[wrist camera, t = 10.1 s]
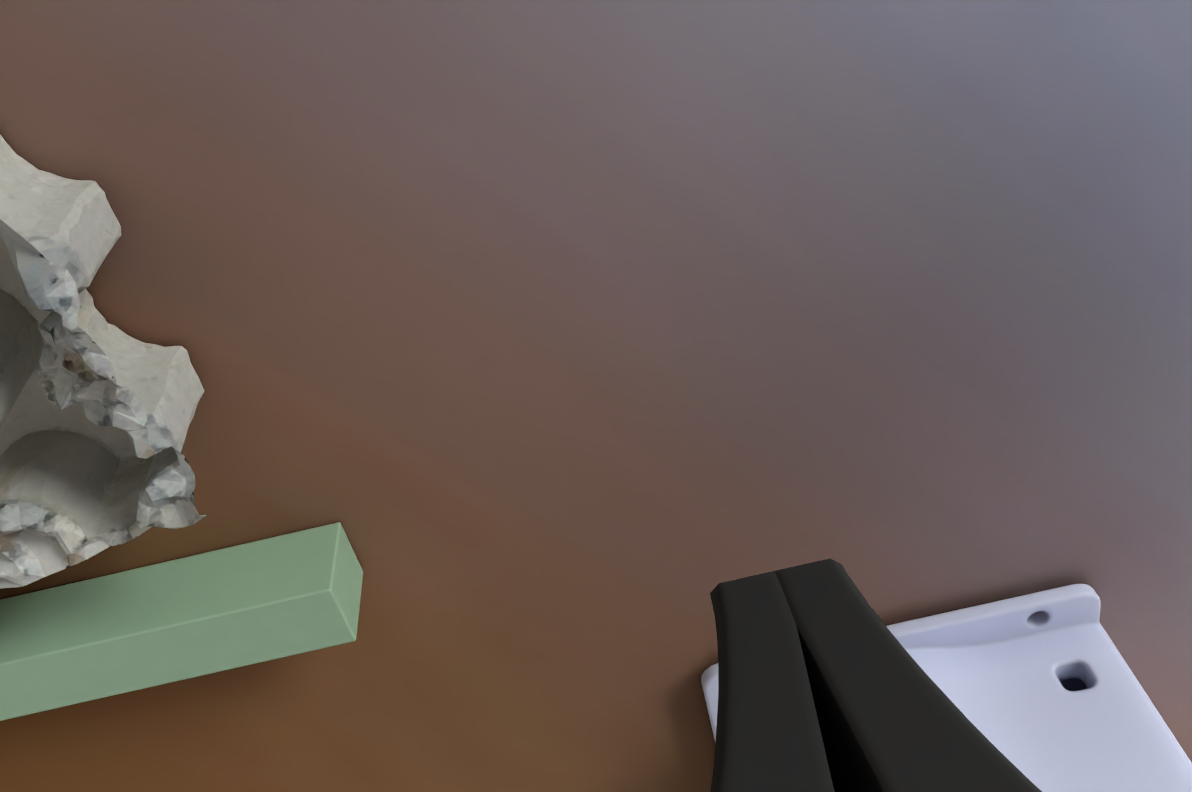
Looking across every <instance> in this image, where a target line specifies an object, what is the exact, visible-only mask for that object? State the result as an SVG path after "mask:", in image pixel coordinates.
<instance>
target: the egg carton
mask: <svg viewBox="0 0 1192 792" xmlns="http://www.w3.org/2000/svg"><path fill="white" fill-rule="evenodd" d="M120 236H121V226H120V224H119V222H118V220H117V218H116V216H115V214H114V213H113V211H112V209H111V207H110V205H109V203H108V201H107V199H106V196H105V192H104V191H103V190H102V189H101V188H100V187H99V185H98V184H97V182H96V181H91V180H73V179H68V178H63V177H60V176H58V175H55V174H52V173H50V172H46V171H42V170H38V169H37V168H36V167H34V166H33V165H32V164H30V163H29V162H27V161H26V160H24V159H23V158H22V157H20V156H18V155H17V154H16V153H15V152H14V151H13V150H12V148H11V147H10V146H9V145H8V144H7V143H6V141H5V140H4V139H3V138H2V136H1V135H0V588H13V587H23V586H26V585H28V584H30V583H32V582H35V581H37V580H39V579H41V578H44V577H46V576H48V575H51V574H53V573H56V572H58V571H61V570H63V569H66V568H68V567H71V566H73V565H75V564H78V563H80V562H82V561H84V560H87V559H89V558H90V557H92V556H94V555H96V554H98V553H99V552H101V551H103V550H105V549H106V548H108V547H110V546H115V545H120V544H124V543H126V542H128V541H130V540H132V539H134V538H136V537H138V536H139V535H141V534H142V533H144V532H145V531H147V530H148V529H150V528H151V527H165V528H171V529H177V528H182V527H186V526H189V525H193V524H195V523H196V522H198V521H199V520H201V519H202V518H204V517H205V516H207V515H202V516H200V515H199V514H198V512H197V510H196V508H195V503H194V488H195V474H194V472H193V471H192V469H191V467H190V465H189V464H188V462H187V460H186V458H185V456H184V455H183V454H182V453H181V451H182V447H183V444H184V441H185V438H186V435H187V430H188V427H189V424H190V423H191V421H192V419H193V417H194V414H195V410H196V407H197V404H198V402H199V400H200V398H201V396H202V395H203V393H204V389H203V387H202V384H201V382H200V380H199V377H198V375H197V374H196V372H195V370H194V368H193V366H192V365H191V362H190V359H189V355H188V352H187V350H186V349H185V348H183V347H182V346H179V345H176V346H169V347H163V346H160V345H156V344H150V343H143V342H141V341H139V340H137V339H134V338H132V337H131V336H129V335H127V334H125V333H124V332H123V331H121V330H120V329H119V328H117V327H116V326H115V325H111V324H108V323H107V321H106V320H105V318H104V317H103V316H102V315H101V314H100V313H99V311H98V310H97V309H96V308H95V307H94V303H93V298H92V296H91V295H90V293H89V292H88V291H87V289H86V288H87V287H89V285H90V284H91V282H92V280H93V278H94V276H95V275H96V273H97V271H98V269H99V268H100V266H101V264H102V263H103V261H104V259H105V258H106V256H107V254H108V253H109V251H110V250H111V249H112V247H113V246H114V244H115V243H116V242H117V240H118V239H119V238H120Z"/></svg>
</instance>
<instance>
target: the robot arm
mask: <svg viewBox="0 0 1192 792" xmlns="http://www.w3.org/2000/svg"><path fill="white" fill-rule="evenodd" d="M710 595H711V600H712V604H713V609H714V614H715V621H716V630H717V641H718V663H717V664H714V665H711V666H710V667H709V668H707V669H706V670H705V671H704V673H703V674H702V677H701V683H702V687H703V691H704V696H705V700H706V704H707V709H708V713H709V717H710V722H711V726H712V730H713V735H714V739H715V758H714V769H713V777H712V785H711V792H1192V763H1191V761H1190V760H1189V758H1188V757H1187V755H1186V754H1185V752H1184V751H1183V749H1182V748H1181V746H1180V745H1179V743H1178V741H1177V740H1176V738H1175V737H1174V735H1173V734H1172V732H1171V731H1170V729H1169V728H1168V726H1167V725H1166V723H1165V722H1164V720H1163V719H1162V717H1161V716H1160V714H1159V712H1158V711H1157V709H1156V708H1155V706H1154V705H1153V703H1152V702H1151V700H1150V699H1149V697H1148V696H1147V694H1146V693H1145V691H1144V690H1143V688H1142V686H1141V685H1140V683H1139V682H1138V680H1137V679H1136V677H1135V676H1134V674H1133V673H1132V671H1131V670H1130V668H1129V667H1128V665H1127V664H1126V662H1125V661H1124V659H1123V657H1122V656H1121V654H1120V653H1119V651H1118V650H1117V648H1116V647H1115V645H1114V644H1113V642H1112V641H1111V639H1110V638H1109V636H1108V635H1107V633H1106V632H1105V630H1104V628H1103V627H1102V625H1101V624H1100V623H1099V617H1100V605H1101V603H1100V598H1099V597H1098V595H1097V594H1096V592H1095V591H1094V589H1093V588H1092V587H1091V586H1089V585H1086V584H1072V585H1068V586H1063V587H1059V588H1054V589H1050V590H1045V591H1041V592H1036V593H1032V594H1027V595H1023V596H1018V597H1014V598H1009V599H1005V600H1000V601H995V602H991V603H986V604H982V605H977V606H973V607H968V608H964V609H959V610H955V611H950V612H946V613H941V614H937V615H932V616H928V617H923V618H919V619H914V620H910V621H905V622H901V623H896V624H892V625H887V626H886V625H885V624H884V623H883V622H882V620H881V619H880V618H879V617H878V615H877V614H876V613H875V611H874V610H873V609H872V608H871V606H870V605H869V604H868V602H867V601H866V600H865V598H864V597H863V595H862V594H861V593H860V591H859V590H858V588H857V587H856V586H855V584H854V583H853V581H852V580H851V578H850V577H849V575H848V574H847V572H846V571H845V569H844V568H843V566H842V565H841V564H840V563H838V562H836V561H834V560H832V559H831V558H830V559H826V560H822V561H817V562H813V563H808V564H804V565H799V566H795V567H790V568H786V569H781V570H777V571H772V572H768V573H763V574H759V575H755V576H750V577H746V578H741V579H737V580H732V581H728V582H723V583H719V584H718V585H717V586H716V587H715V588H714V590H713V591H712V592H711V593H710Z"/></svg>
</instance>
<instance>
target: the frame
mask: <svg viewBox="0 0 1192 792" xmlns="http://www.w3.org/2000/svg"><path fill="white" fill-rule="evenodd" d="M362 579H363V570H362V568H361V566H360V564H359V562H358V559H357V557H356V555H355V553H354V551H353V549H352V547H351V544H350V542H349V540H348V538H347V536H346V534H345V531H344V529H343V527H342V525H341V523H340V522H338V523H333V524H329V525H324V526H320V527H316V528H311V529H307V530H303V531H298V532H294V533H290V534H285V535H281V536H276V537H272V538H268V539H263V540H259V541H255V542H250V543H246V544H241V545H237V546H233V547H228V548H224V549H220V550H215V551H211V552H206V553H202V554H198V555H193V556H189V557H185V558H180V559H176V560H172V561H167V562H163V563H158V564H154V565H150V566H145V567H141V568H137V569H132V570H128V571H123V572H119V573H115V574H110V575H106V576H102V577H97V578H93V579H88V580H84V581H80V582H75V583H71V584H67V585H62V586H58V587H54V588H49V589H45V590H40V591H36V592H32V593H27V594H23V595H19V596H14V597H10V598H5V599H1V600H0V721H2V720H6V719H11V718H15V717H20V716H24V715H28V714H33V713H37V712H42V711H46V710H51V709H55V708H60V707H64V706H69V705H73V704H77V703H82V702H86V701H91V700H95V699H100V698H104V697H109V696H113V695H117V694H122V693H126V692H131V691H135V690H140V689H144V688H149V687H153V686H158V685H162V684H166V683H171V682H175V681H180V680H184V679H189V678H193V677H198V676H202V675H206V674H211V673H215V672H220V671H224V670H229V669H233V668H238V667H242V666H247V665H251V664H255V663H260V662H264V661H269V660H273V659H278V658H282V657H287V656H291V655H295V654H300V653H304V652H309V651H313V650H318V649H322V648H327V647H331V646H336V645H340V644H344V643H349V642H353V641H356V635H357V626H358V617H359V607H360V598H361V589H362Z"/></svg>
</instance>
